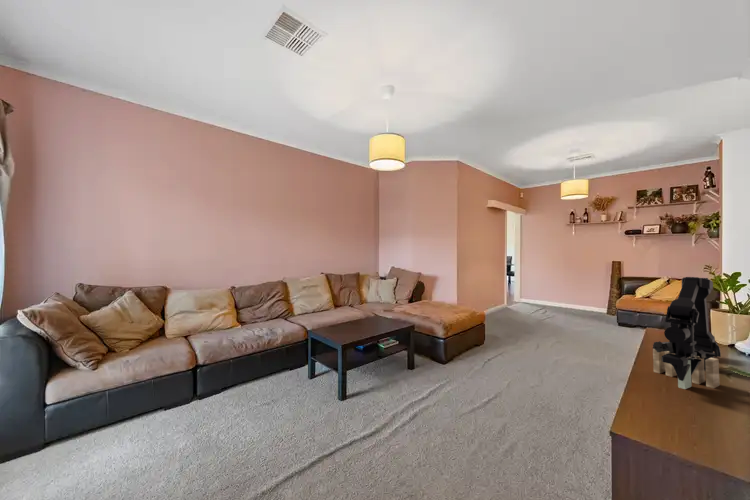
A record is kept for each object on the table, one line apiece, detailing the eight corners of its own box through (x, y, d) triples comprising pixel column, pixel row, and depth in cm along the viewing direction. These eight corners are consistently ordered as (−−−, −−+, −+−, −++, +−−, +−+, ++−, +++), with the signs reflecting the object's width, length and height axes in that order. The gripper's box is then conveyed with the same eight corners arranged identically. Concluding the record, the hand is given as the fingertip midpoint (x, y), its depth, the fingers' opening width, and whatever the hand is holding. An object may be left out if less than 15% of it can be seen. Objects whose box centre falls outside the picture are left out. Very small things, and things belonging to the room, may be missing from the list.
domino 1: (653, 371, 131) (652, 348, 131) (659, 369, 133) (658, 346, 133) (659, 373, 129) (658, 349, 129) (665, 371, 132) (664, 347, 132)
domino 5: (706, 386, 117) (705, 359, 117) (712, 383, 119) (711, 357, 119) (713, 388, 115) (712, 361, 115) (719, 385, 117) (718, 359, 117)
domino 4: (691, 382, 120) (690, 356, 120) (697, 379, 123) (696, 354, 123) (698, 384, 119) (698, 358, 119) (704, 381, 121) (703, 356, 121)
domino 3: (678, 387, 117) (677, 360, 117) (684, 384, 119) (683, 358, 119) (685, 389, 115) (684, 362, 115) (691, 386, 117) (690, 360, 117)
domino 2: (665, 375, 128) (664, 351, 128) (671, 372, 130) (670, 349, 130) (671, 376, 126) (671, 352, 126) (677, 374, 128) (677, 350, 128)
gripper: (668, 329, 128) (669, 367, 128) (644, 336, 120) (645, 376, 120) (705, 335, 118) (707, 376, 118) (681, 343, 110) (683, 387, 110)
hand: (684, 378), depth 117 cm, fingers closed on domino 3, 5 cm apart
